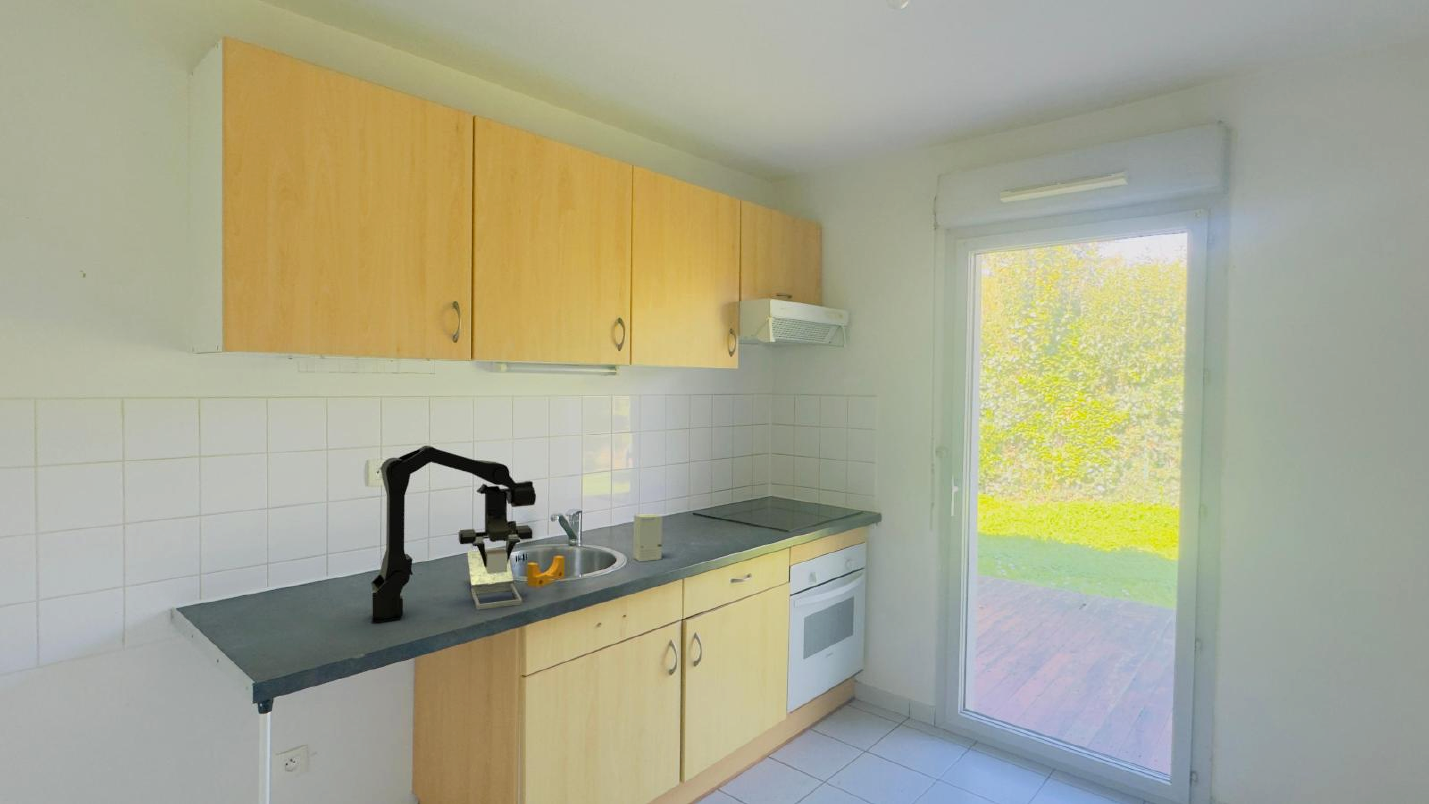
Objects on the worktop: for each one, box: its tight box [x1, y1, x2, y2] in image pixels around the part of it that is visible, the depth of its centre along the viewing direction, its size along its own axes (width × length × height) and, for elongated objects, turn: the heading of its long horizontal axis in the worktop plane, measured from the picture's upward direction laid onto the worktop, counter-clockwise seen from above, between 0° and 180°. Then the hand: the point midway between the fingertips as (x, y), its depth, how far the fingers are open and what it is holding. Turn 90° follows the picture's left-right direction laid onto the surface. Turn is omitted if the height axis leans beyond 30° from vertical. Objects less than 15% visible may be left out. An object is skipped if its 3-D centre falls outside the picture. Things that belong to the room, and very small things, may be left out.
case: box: [466, 547, 523, 611], centre depth 198 cm, size 11×27×9 cm, turn 24°
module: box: [485, 547, 507, 574], centre depth 192 cm, size 5×7×5 cm
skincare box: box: [632, 513, 663, 563], centre depth 236 cm, size 8×6×15 cm
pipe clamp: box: [526, 555, 565, 589], centre depth 209 cm, size 12×4×6 cm, turn 144°
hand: (495, 565), depth 192 cm, fingers closed on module, 5 cm apart
